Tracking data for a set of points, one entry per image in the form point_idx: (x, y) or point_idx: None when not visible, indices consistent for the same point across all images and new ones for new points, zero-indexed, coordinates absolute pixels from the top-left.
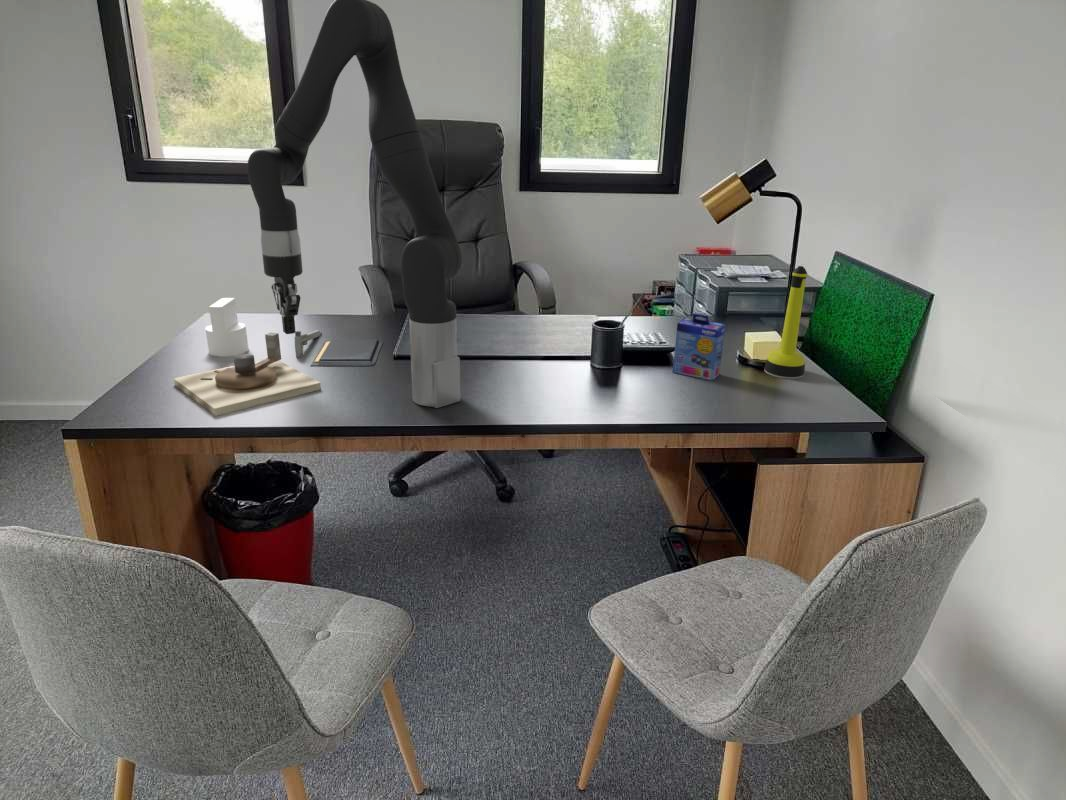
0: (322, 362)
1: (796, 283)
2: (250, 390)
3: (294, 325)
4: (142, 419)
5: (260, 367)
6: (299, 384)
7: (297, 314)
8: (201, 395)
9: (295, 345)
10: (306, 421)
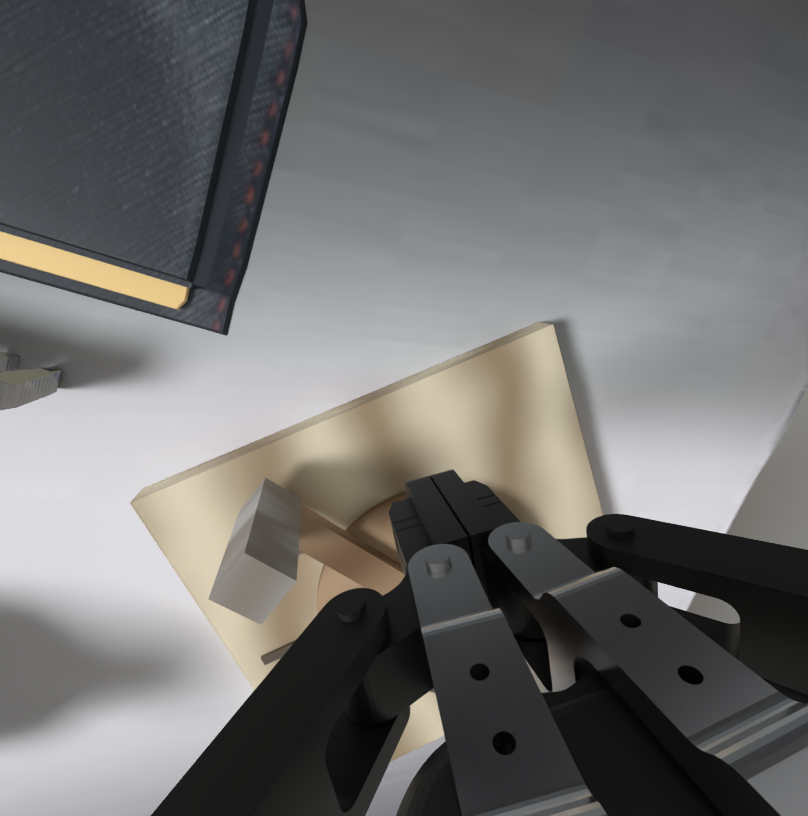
0: (215, 271)
1: None
2: None
3: (468, 491)
4: None
5: (386, 558)
6: (541, 405)
7: (626, 515)
8: None
9: (16, 403)
10: (771, 395)
